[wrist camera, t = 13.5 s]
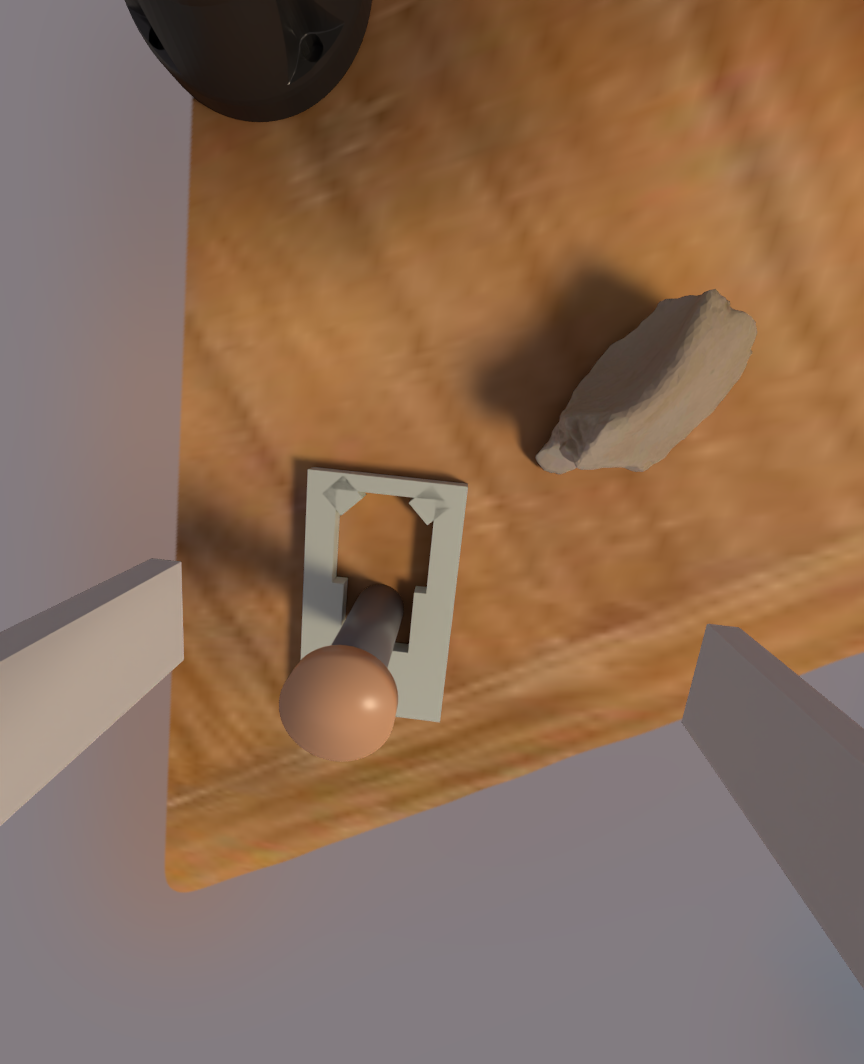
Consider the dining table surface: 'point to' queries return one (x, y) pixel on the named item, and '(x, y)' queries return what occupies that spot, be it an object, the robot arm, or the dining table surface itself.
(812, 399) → the dining table surface
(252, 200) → the dining table surface
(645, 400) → the decorative stone
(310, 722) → the peg
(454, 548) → the keyhole board
